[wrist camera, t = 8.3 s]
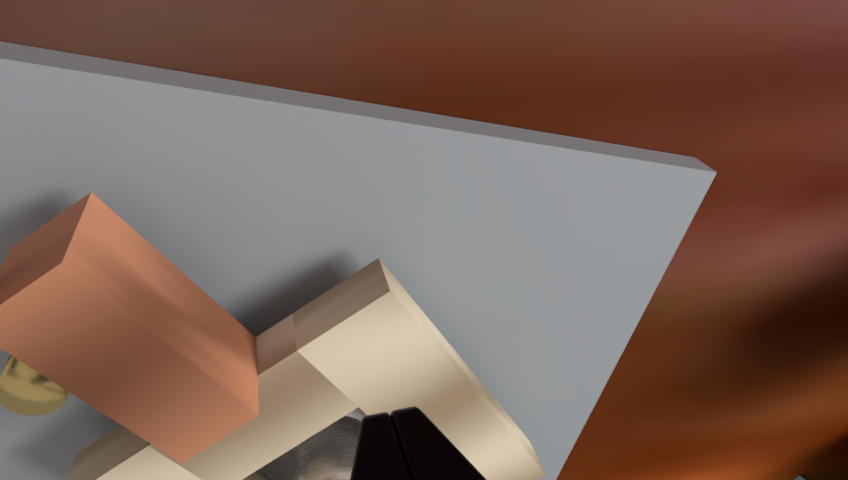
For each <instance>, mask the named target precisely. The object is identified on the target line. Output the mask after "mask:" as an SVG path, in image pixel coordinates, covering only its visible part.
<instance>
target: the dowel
mask: <svg viewBox="0 0 848 480" xmlns="http://www.w3.org/2000/svg"><path fill="white" fill-rule="evenodd" d="M68 394H69V392H68V391H67V390H65V389H64V388H62V387H60V386H59V385H57V384H56V383H54V382H53V381H51V380H49V379H48V378H46V377H45V376H43V375H41V374H40V373H38V372H37V371H35V370H34V369H32V368H30V367H29V366H27V365H26V364H24V363H23V362H21V361H19V360H18V359H16V358H15V357H13V356H11V355H10V356H9V358H8V360H7V363H6V365H5V367H4V369H3V372H2V374H1V376H0V404H1V405H2V406H4V407H5V408H7V409H8V410H10V411H12V412H15V413H18V414H23V415H44V414H48V413H51V412H53V411H55V410H57V409H59V408H60V407H61V406H62V405H63V404H64V403H65V402H66V400H67V397H68Z"/></svg>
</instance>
